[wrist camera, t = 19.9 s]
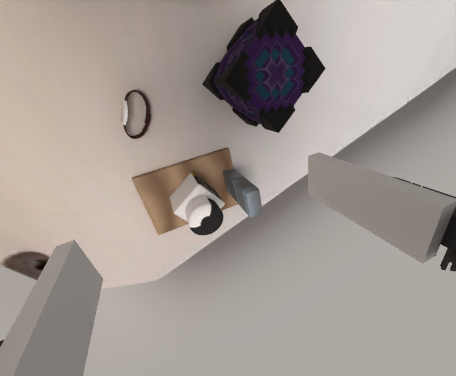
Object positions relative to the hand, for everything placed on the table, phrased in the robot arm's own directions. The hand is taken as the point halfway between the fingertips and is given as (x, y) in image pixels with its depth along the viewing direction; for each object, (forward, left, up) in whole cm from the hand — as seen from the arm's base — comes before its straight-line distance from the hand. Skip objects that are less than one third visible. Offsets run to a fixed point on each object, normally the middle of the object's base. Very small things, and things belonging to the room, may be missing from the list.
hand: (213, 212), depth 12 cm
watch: (-5, 0, -32) cm, 32 cm away
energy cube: (+9, +16, -32) cm, 37 cm away
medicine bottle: (+11, -9, -31) cm, 34 cm away
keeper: (+11, -9, -32) cm, 35 cm away
